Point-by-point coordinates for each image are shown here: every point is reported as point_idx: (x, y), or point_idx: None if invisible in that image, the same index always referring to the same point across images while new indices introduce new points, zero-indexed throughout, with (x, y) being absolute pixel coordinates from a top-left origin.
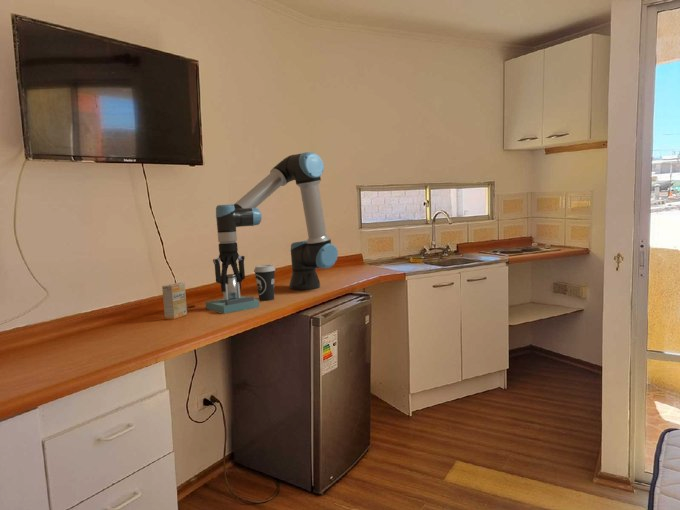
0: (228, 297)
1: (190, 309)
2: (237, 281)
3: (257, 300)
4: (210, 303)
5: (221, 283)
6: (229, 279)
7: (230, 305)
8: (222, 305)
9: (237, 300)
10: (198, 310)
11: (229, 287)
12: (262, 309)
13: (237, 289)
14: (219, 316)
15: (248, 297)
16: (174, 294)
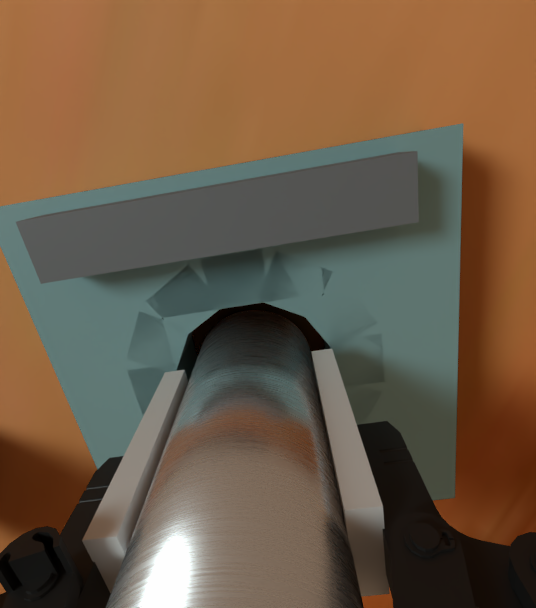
0: (308, 371)
1: (512, 506)
2: (102, 588)
3: (6, 205)
4: (453, 420)
5: (470, 543)
6: (306, 595)
7: (367, 141)
8: (444, 196)
9: (260, 179)
10: (495, 440)
11: (303, 443)
12: (26, 36)
13: (163, 449)
14: (521, 31)
15: (92, 214)
16: None
